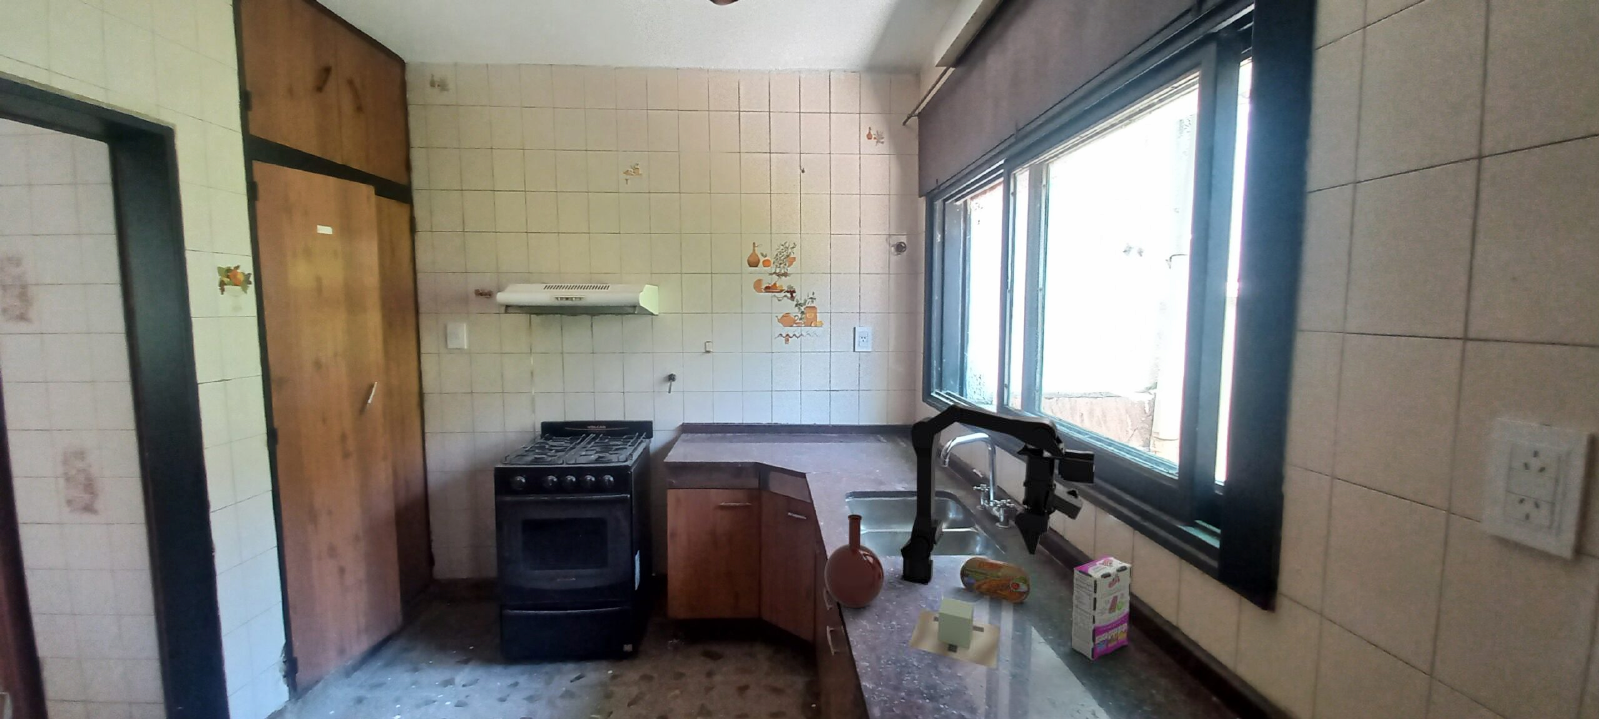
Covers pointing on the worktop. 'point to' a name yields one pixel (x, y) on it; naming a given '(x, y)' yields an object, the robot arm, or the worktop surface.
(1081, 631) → the candy bar box
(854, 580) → the round-bottom flask
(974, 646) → the board
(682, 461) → the worktop surface
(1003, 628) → the worktop surface
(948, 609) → the green block
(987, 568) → the tin
